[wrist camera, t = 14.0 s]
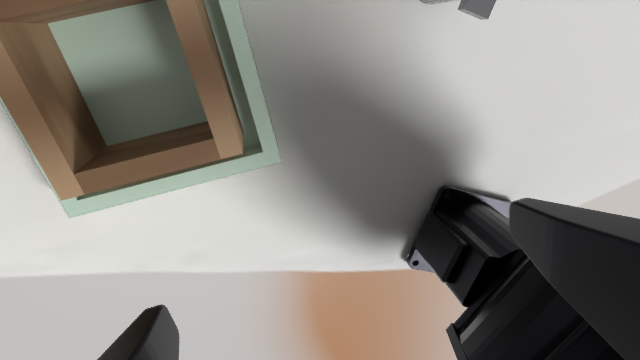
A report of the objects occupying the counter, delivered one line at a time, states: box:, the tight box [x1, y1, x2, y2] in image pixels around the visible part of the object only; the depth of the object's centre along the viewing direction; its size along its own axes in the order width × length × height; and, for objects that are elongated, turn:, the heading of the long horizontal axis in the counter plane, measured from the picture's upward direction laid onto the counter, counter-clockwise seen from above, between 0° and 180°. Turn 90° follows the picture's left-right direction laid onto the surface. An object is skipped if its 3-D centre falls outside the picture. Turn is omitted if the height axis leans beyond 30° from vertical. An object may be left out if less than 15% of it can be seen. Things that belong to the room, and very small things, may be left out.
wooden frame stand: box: [0, 0, 244, 201], centre depth 15 cm, size 12×8×4 cm, turn 12°
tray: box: [0, 0, 282, 218], centre depth 17 cm, size 15×11×2 cm
